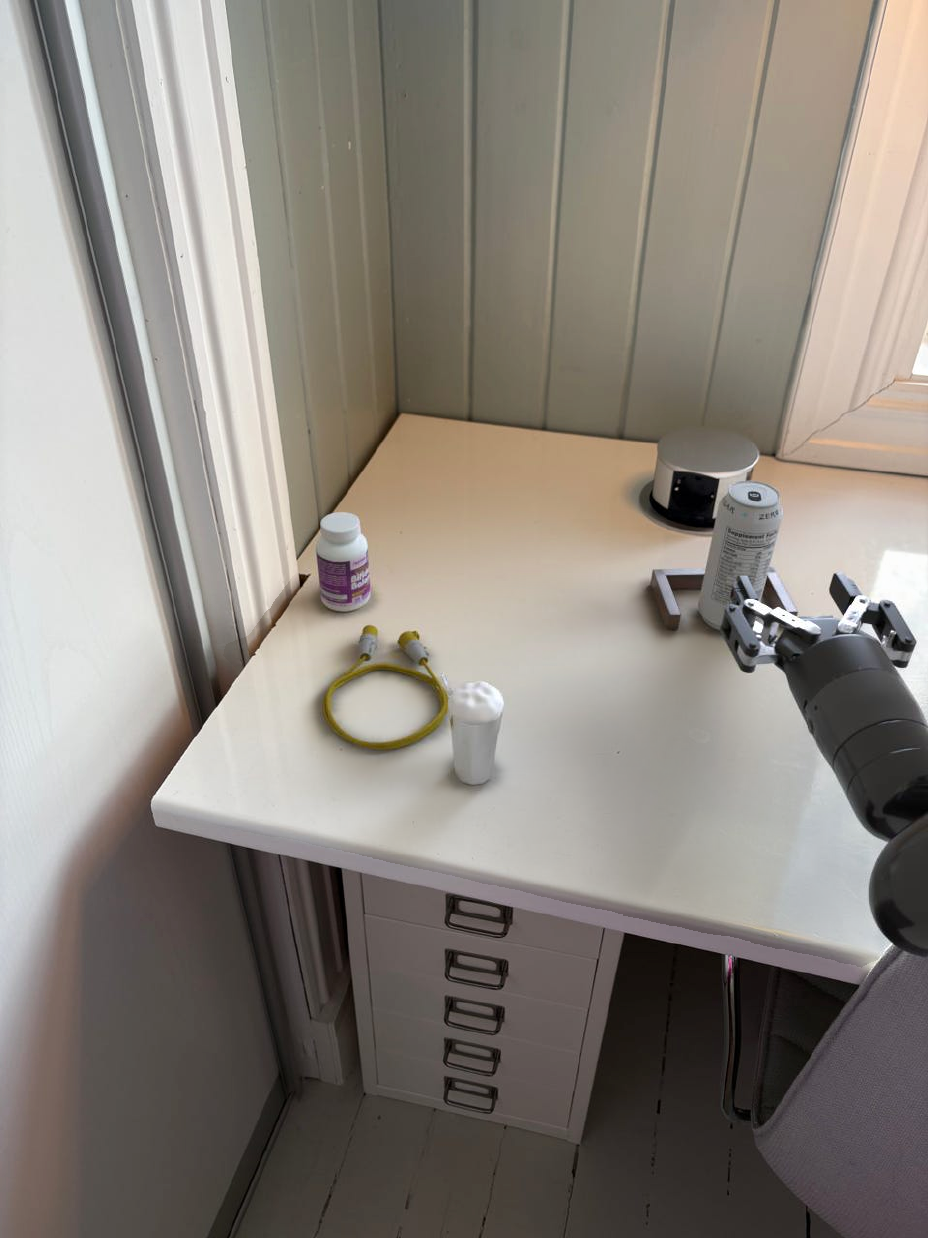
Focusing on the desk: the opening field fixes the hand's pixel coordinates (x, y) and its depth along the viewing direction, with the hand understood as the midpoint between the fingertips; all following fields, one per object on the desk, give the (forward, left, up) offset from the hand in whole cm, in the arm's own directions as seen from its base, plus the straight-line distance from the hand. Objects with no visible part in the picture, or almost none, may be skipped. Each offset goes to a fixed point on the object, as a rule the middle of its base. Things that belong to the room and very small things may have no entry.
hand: (787, 582), depth 81 cm
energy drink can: (-4, -10, -13) cm, 17 cm away
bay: (-5, -12, -12) cm, 18 cm away
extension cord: (+32, -15, -13) cm, 37 cm away
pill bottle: (+30, -31, -13) cm, 45 cm away
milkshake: (+30, -3, -13) cm, 32 cm away
